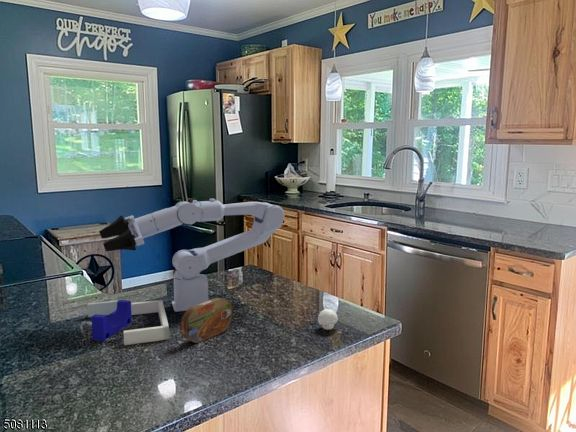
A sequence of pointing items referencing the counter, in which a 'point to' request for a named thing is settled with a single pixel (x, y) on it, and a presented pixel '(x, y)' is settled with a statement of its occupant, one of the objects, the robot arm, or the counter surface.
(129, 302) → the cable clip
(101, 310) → the gate
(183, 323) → the tin
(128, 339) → the bracket
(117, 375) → the counter surface
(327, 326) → the mushroom
